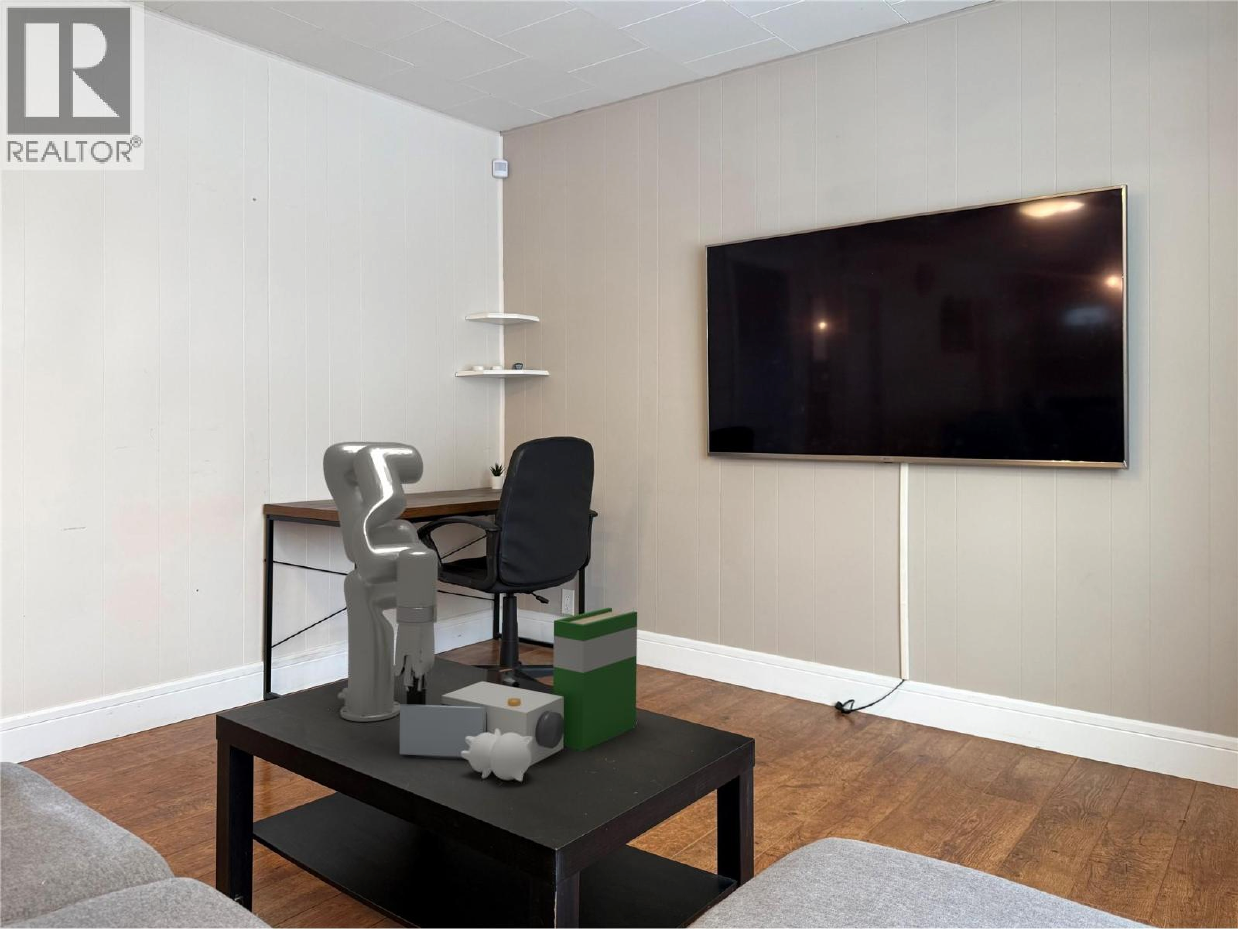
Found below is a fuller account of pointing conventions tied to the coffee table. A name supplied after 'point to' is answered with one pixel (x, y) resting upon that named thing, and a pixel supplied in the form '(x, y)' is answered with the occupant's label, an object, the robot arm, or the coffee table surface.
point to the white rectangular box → (517, 714)
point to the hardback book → (596, 675)
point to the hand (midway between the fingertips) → (416, 710)
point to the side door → (439, 728)
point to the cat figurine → (499, 754)
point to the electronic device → (502, 677)
